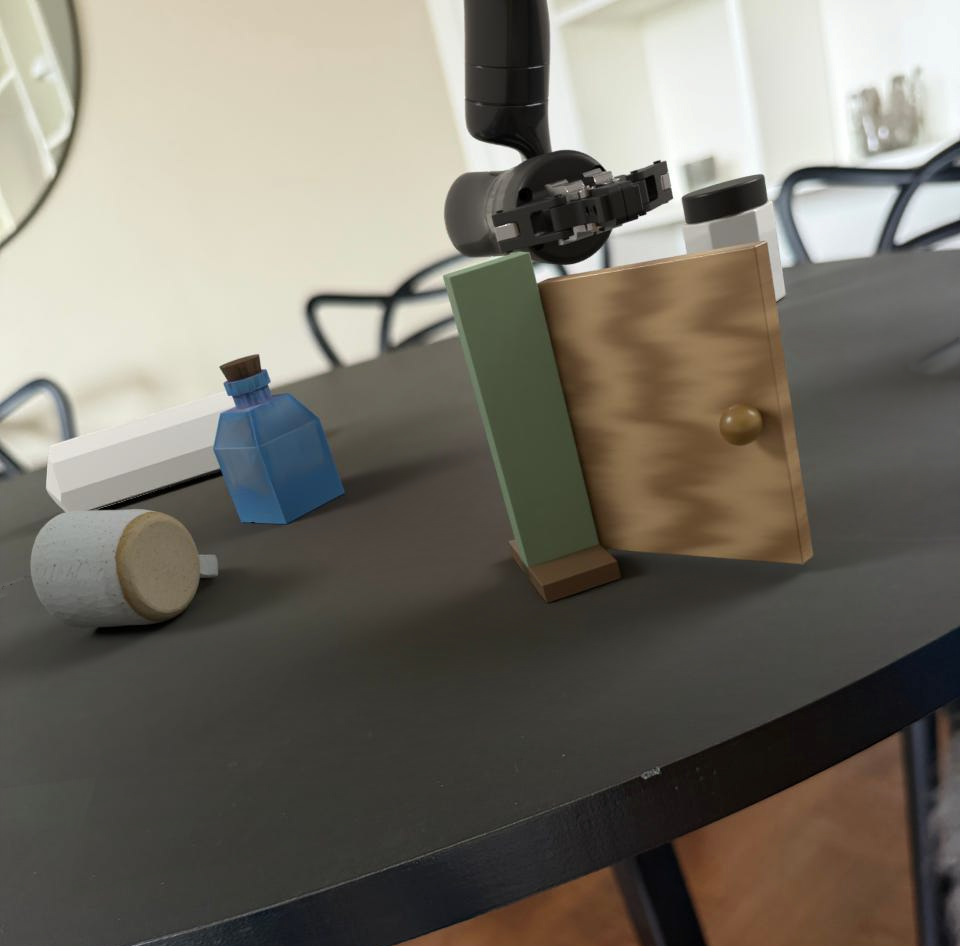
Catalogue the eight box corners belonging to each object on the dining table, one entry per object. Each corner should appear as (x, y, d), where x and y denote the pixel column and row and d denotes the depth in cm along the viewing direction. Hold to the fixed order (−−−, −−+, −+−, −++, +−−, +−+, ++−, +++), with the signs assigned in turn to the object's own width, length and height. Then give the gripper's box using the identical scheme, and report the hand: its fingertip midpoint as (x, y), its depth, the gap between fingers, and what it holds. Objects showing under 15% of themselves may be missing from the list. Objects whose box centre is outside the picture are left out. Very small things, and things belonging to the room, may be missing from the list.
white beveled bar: (31, 496, 97) (274, 419, 99) (28, 447, 101) (261, 374, 103) (67, 546, 103) (295, 473, 105) (63, 498, 107) (283, 429, 109)
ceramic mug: (151, 643, 62) (100, 526, 59) (59, 648, 66) (7, 538, 63) (252, 571, 70) (212, 465, 67) (166, 579, 74) (124, 479, 71)
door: (814, 556, 47) (768, 239, 41) (783, 582, 45) (730, 257, 40) (609, 541, 55) (548, 278, 50) (577, 563, 54) (510, 294, 48)
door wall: (577, 535, 59) (507, 249, 53) (621, 578, 52) (545, 253, 45) (512, 557, 59) (433, 272, 52) (546, 603, 52) (459, 280, 45)
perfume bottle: (344, 492, 82) (294, 344, 77) (286, 524, 79) (228, 370, 74) (299, 492, 87) (248, 352, 82) (241, 522, 83) (184, 376, 78)
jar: (779, 290, 109) (761, 170, 104) (792, 302, 101) (774, 173, 97) (694, 312, 111) (673, 196, 106) (702, 325, 103) (679, 200, 98)
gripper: (452, 182, 74) (502, 168, 58) (623, 129, 75) (718, 101, 59) (480, 287, 77) (535, 301, 61) (644, 235, 78) (740, 235, 62)
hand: (625, 203), depth 60 cm, fingers closed
